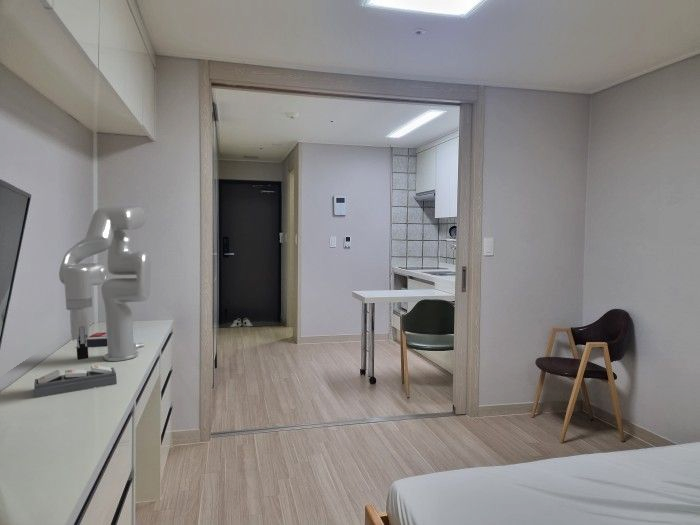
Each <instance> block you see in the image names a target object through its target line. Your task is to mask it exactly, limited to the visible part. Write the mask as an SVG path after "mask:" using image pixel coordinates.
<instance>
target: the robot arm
mask: <svg viewBox="0 0 700 525" xmlns="http://www.w3.org/2000/svg"><path fill="white" fill-rule="evenodd" d="M90 220H91V221H90V223H89V226H88V228H87V231H86V234H85V237H84V238H83V239H82V240H80V241H78V242H77V243H76V244H74V245H73V246H72V247H70V248H69V250H67V251H66V252H65V254H64V255H63V258H62V261H61V264H60V267H59V272H58V277H59V278H58V279H59V280H60V283H62V284H63V285H64V294H65V308H66V309H65V310H66V311H69V322H70V334H71V340H72V342H73V341H75V340H76V357H77V360H81V361H82V360H86V359H89V347H88V346H87V339H88V338H89V336H90V314H89V313H90V311H89V310H90V309H91V308H93V297H92V296H93V295H92V286H99V285H101V296H102V300H103V304H104V312H105V327H106V332H107V346H106V347H107V353H106V354H104V355H103V360H104V361H106V362H107V361H108V362H120V361H127V360H131V359H134V358H136V357H138V356H139V351H138V350H139V349H141V348H145V344H144V342H140V343H136V342H134V325H133V322H134V321H133V312H132V310H131V308H130V306H128V304H127V303H142V302H146V301H147V300H148V299H149V297H150V292H151V269H152V268H151V267H152V265H151V264H152V263H151V258H150V256H149V254H148V253H147V252H145V251H141V250H140V251H139V250H136V251H135V250H133V251H132V243H133V242H132V238H131V236H130V235H129V234H128V233H127V231H129V230H132V231H133V230H137V229H140V228H142V227H143V226H144V225H145V222H146V213H145V210H144V209H143V208H142V207H140V206H105V207H101V208H97V209H96V210H94V212H93V214H92V217H91V219H90ZM126 230H127V231H126ZM106 250H107V265H106V266H107V268H106V266H104V265H103V264H101V263H97V262H95V263H94V262H93V263H92V262H91V263H89V262H88V263H86V262H84V263H83V262H82V263H81V261H83V260H85V259H87V258H90V257H92V256H95V255H97V254H100V253H103V252H105V251H106ZM108 273H109V274H110V275H114V276H136V277H133V278H132V277H129V278H128V277H122V278H119V277H118V278H109V279H107V277H108Z"/></svg>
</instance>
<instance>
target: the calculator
mask: <svg viewBox="0 0 700 525" xmlns="http://www.w3.org/2000/svg"><path fill="white" fill-rule="evenodd" d="M87 346H88V348H102V347H103V348H104V347H107V331H105V332H95V333H93V334H91V335H89V338H88V339H87Z"/></svg>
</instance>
